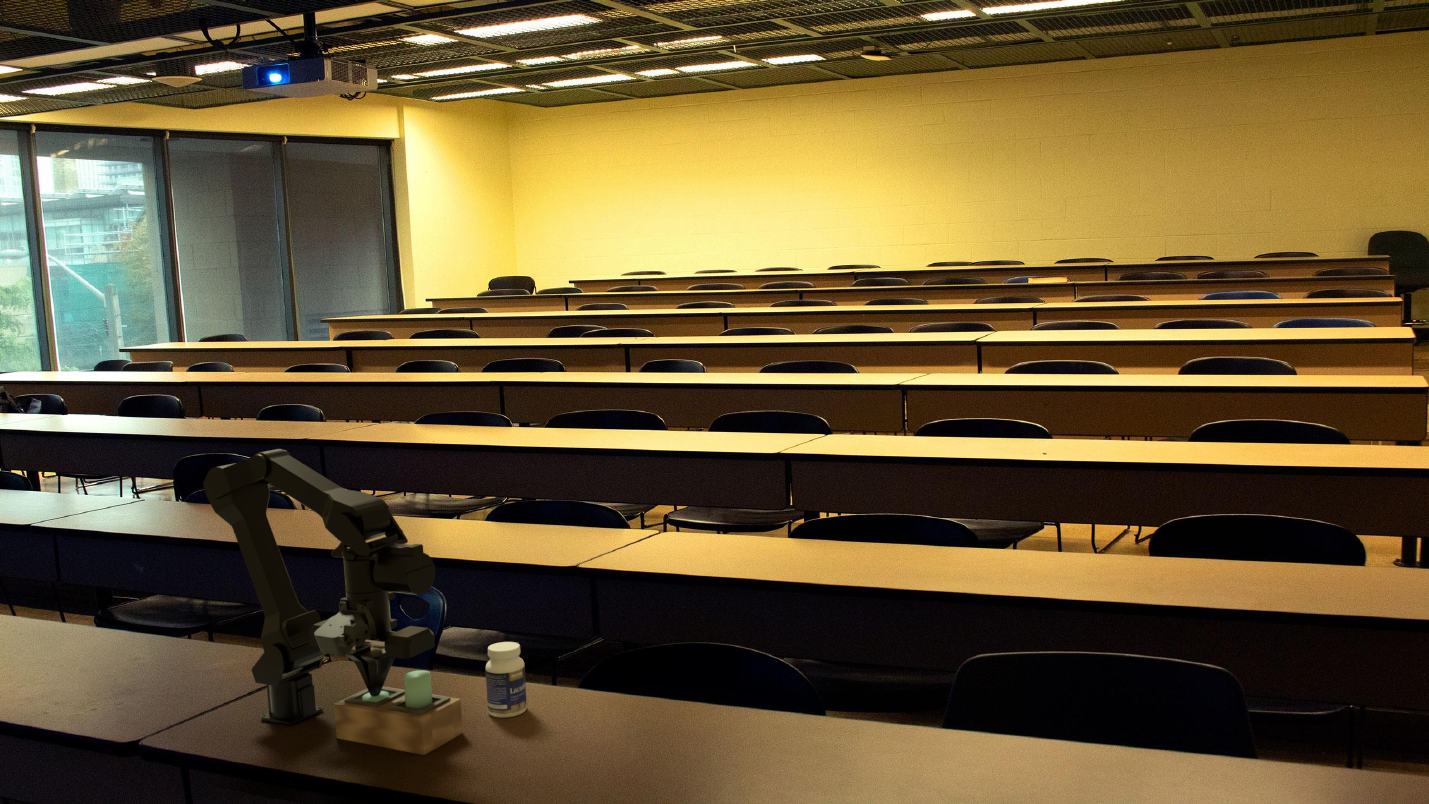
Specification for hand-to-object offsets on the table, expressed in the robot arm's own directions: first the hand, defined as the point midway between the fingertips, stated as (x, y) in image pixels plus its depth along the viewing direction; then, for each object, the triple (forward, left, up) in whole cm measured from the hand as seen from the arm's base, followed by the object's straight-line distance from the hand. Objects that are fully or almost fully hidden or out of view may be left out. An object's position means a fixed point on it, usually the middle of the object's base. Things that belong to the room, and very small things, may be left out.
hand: (375, 695), depth 160 cm
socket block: (+4, 0, -5) cm, 7 cm away
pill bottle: (+13, +13, -6) cm, 19 cm away
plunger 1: (0, 0, -5) cm, 5 cm away
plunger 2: (+8, 0, -1) cm, 8 cm away
